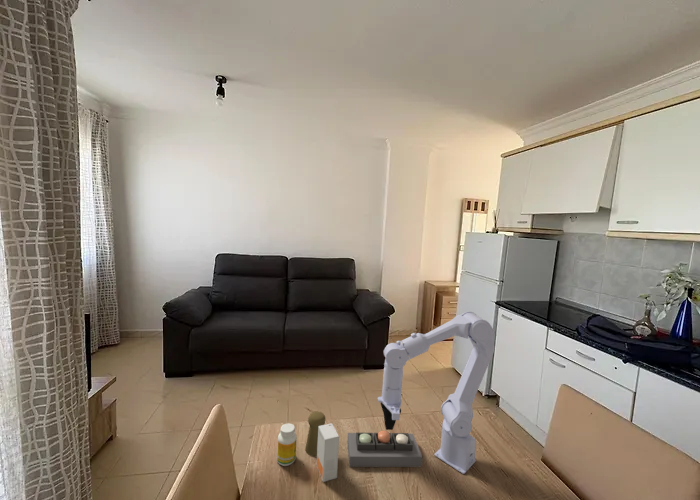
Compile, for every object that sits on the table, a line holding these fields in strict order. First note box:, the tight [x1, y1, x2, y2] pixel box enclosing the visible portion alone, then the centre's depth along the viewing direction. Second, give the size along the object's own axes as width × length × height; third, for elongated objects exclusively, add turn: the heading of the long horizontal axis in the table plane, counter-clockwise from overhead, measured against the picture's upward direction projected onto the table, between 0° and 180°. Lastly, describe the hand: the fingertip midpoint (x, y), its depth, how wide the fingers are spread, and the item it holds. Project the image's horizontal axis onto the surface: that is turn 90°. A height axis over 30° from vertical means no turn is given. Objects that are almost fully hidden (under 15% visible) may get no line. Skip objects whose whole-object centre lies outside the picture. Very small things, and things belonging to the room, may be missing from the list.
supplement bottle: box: [276, 422, 298, 467], centre depth 86 cm, size 5×5×10 cm
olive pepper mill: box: [304, 410, 326, 457], centre depth 91 cm, size 6×6×11 cm
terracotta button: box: [377, 430, 390, 444], centre depth 91 cm, size 4×4×2 cm
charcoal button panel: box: [346, 432, 423, 468], centre depth 91 cm, size 21×10×5 cm, turn 94°
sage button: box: [359, 434, 371, 443], centre depth 90 cm, size 4×4×2 cm
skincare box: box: [315, 422, 340, 483], centre depth 82 cm, size 6×4×12 cm
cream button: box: [396, 434, 408, 444], centre depth 91 cm, size 4×4×2 cm
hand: (389, 428), depth 90 cm, fingers closed
